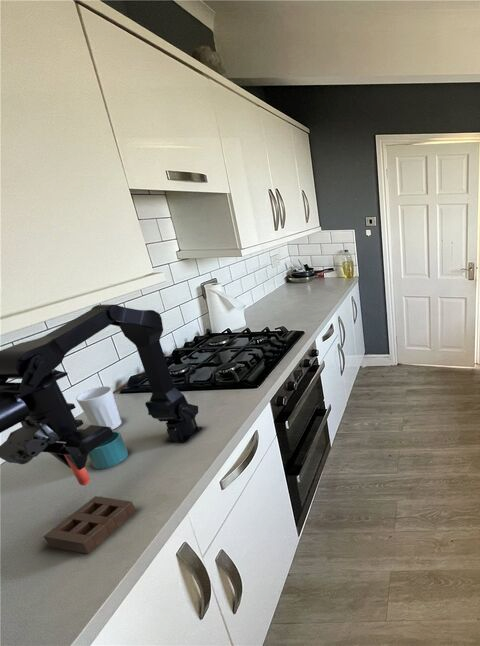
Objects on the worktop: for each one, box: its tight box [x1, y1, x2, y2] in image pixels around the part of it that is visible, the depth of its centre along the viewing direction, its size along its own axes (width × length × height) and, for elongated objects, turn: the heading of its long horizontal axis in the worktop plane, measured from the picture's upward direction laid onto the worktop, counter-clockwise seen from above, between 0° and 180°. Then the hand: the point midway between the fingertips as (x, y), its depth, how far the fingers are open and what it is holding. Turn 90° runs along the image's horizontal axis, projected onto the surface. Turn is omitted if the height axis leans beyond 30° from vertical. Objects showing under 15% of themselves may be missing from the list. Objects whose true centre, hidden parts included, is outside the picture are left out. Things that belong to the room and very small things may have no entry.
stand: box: [43, 495, 137, 555], centre depth 74 cm, size 10×10×3 cm
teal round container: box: [88, 430, 129, 470], centre depth 93 cm, size 7×7×6 cm
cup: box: [75, 385, 122, 430], centre depth 106 cm, size 8×8×12 cm
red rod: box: [64, 455, 91, 486], centre depth 74 cm, size 2×2×10 cm
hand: (77, 467), depth 74 cm, fingers closed on red rod, 2 cm apart
